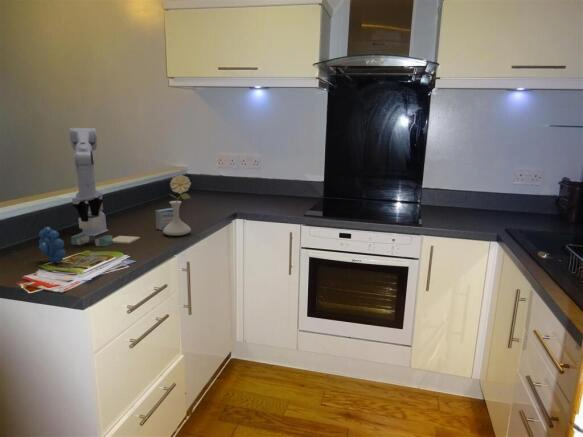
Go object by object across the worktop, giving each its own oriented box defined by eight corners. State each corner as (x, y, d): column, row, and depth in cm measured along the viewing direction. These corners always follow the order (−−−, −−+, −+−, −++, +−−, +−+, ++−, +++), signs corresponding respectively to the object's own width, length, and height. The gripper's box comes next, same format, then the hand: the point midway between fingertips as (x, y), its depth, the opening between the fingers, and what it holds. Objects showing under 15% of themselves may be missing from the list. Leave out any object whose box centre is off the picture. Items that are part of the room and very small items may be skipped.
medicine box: (161, 231, 184) (160, 211, 182) (156, 229, 187) (154, 209, 185) (177, 227, 190) (176, 208, 188) (172, 226, 193) (170, 207, 191)
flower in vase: (157, 236, 174) (153, 175, 169) (172, 230, 185) (169, 172, 180) (186, 239, 171) (183, 176, 166) (199, 232, 182) (197, 173, 176)
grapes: (30, 263, 140) (25, 227, 137) (49, 258, 146) (45, 223, 143) (52, 269, 135) (47, 232, 132) (71, 263, 140) (68, 227, 138)
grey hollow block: (89, 225, 165) (88, 215, 165) (102, 225, 164) (101, 215, 164) (79, 228, 160) (78, 218, 159) (92, 229, 159) (91, 218, 158)
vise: (80, 241, 167) (79, 233, 167) (113, 243, 165) (112, 235, 164) (71, 244, 162) (70, 236, 162) (105, 246, 160) (104, 238, 159)
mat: (119, 237, 173) (119, 235, 173) (140, 238, 172) (139, 236, 171) (107, 242, 166) (107, 240, 165) (128, 243, 164) (128, 242, 164)
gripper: (83, 186, 151) (87, 224, 154) (108, 181, 165) (111, 216, 168) (65, 186, 152) (69, 223, 155) (91, 181, 166) (95, 215, 169)
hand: (90, 219), depth 162 cm, fingers closed on grey hollow block, 6 cm apart
